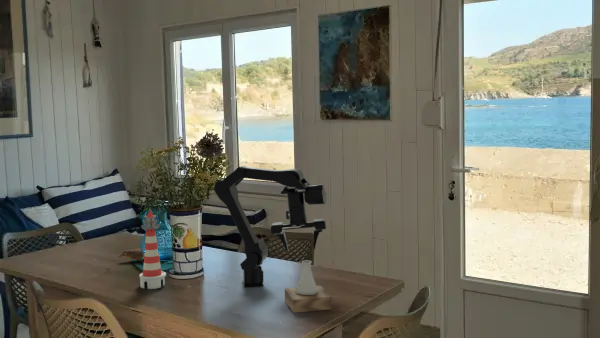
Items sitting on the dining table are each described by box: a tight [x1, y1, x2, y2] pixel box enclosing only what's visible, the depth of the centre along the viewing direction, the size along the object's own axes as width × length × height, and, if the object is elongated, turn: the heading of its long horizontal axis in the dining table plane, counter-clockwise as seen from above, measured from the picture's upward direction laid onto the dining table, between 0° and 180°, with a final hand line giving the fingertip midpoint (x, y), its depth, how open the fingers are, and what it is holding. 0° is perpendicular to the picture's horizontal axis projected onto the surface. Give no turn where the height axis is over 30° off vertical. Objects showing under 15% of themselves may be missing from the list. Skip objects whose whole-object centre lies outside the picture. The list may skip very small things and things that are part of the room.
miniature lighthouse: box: [138, 208, 167, 290], centre depth 215 cm, size 9×9×30 cm
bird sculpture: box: [117, 248, 144, 262], centre depth 252 cm, size 7×25×5 cm, turn 102°
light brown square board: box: [284, 285, 332, 313], centre depth 194 cm, size 12×12×4 cm
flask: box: [296, 259, 318, 295], centre depth 194 cm, size 7×7×10 cm
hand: (300, 250), depth 212 cm, fingers open, 9 cm apart
